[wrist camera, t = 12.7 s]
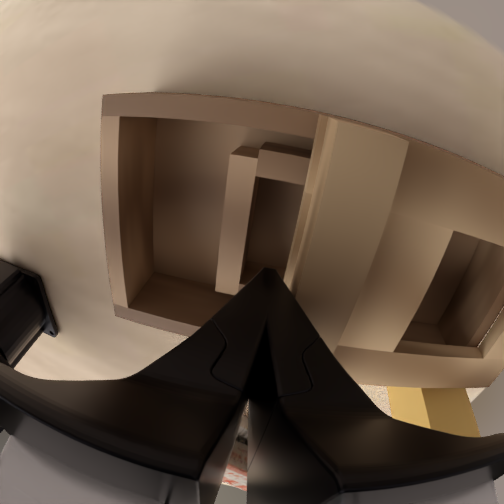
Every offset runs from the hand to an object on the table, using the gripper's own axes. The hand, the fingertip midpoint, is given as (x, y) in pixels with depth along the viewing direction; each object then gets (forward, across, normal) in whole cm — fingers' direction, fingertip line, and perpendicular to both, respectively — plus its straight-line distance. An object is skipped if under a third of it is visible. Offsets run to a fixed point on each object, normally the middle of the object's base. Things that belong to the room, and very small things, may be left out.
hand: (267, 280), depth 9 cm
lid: (+1, -7, 0) cm, 7 cm away
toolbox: (+6, -2, 0) cm, 6 cm away
